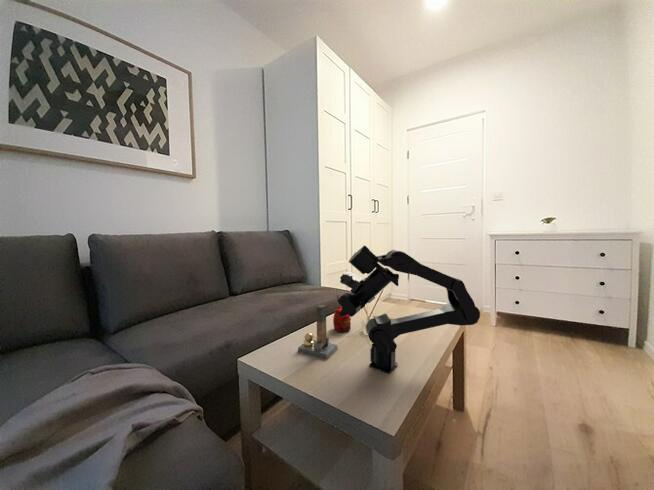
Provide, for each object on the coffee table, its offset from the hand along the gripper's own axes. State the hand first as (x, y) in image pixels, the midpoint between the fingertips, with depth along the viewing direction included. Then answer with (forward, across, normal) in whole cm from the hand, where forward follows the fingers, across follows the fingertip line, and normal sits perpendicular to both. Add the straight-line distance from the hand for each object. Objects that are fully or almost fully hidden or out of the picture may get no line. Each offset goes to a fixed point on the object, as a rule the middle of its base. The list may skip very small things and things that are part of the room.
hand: (340, 314), depth 80 cm
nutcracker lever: (+13, 0, +3) cm, 13 cm away
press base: (+16, 0, +4) cm, 16 cm away
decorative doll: (+16, -21, +3) cm, 26 cm away
